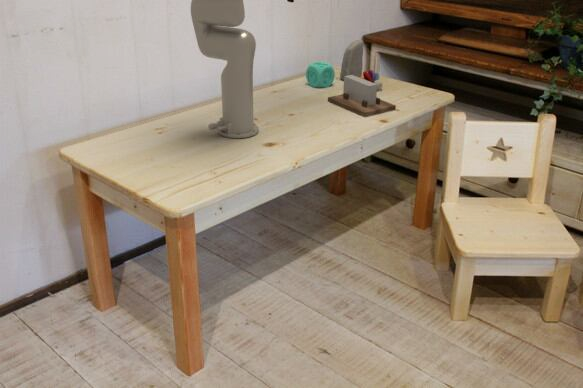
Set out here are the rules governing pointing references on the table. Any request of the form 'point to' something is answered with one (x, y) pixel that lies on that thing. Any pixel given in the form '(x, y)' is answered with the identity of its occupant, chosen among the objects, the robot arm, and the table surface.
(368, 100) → the gray rectangular block
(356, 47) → the decorative stone
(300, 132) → the table surface
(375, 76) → the rainbow petal toy
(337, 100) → the brown board
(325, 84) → the decorative dice
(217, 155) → the table surface
